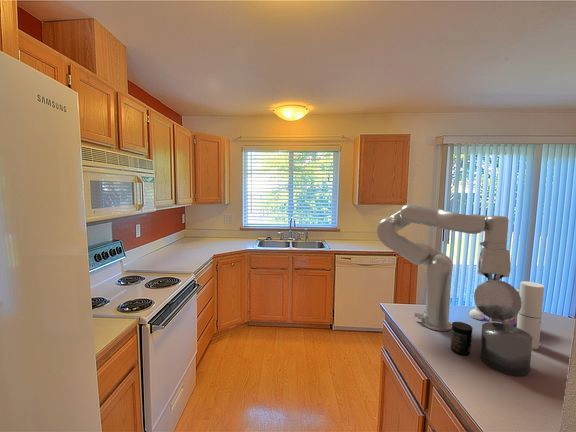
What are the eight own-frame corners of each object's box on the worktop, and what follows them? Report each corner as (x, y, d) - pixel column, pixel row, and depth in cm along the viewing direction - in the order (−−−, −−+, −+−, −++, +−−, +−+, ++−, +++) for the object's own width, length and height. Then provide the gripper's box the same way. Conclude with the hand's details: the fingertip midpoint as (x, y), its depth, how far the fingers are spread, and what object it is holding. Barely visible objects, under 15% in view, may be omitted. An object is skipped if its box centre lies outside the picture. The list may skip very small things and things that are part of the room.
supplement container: (468, 359, 101) (470, 332, 100) (448, 351, 105) (449, 325, 105) (472, 351, 106) (474, 325, 105) (452, 344, 110) (454, 320, 109)
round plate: (475, 318, 107) (472, 317, 110) (522, 325, 101) (518, 323, 105) (474, 277, 109) (472, 277, 112) (521, 282, 104) (517, 281, 107)
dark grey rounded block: (487, 371, 94) (489, 337, 93) (475, 349, 107) (477, 319, 106) (538, 381, 89) (541, 345, 88) (518, 356, 102) (521, 326, 101)
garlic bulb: (487, 321, 132) (490, 305, 131) (474, 320, 132) (477, 304, 131) (478, 315, 138) (481, 300, 137) (466, 314, 138) (468, 299, 137)
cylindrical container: (510, 339, 114) (515, 281, 112) (526, 339, 115) (531, 281, 113) (527, 349, 107) (532, 287, 105) (543, 348, 108) (549, 287, 106)
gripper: (476, 246, 112) (473, 290, 113) (521, 248, 107) (518, 294, 108) (471, 243, 119) (468, 284, 120) (513, 245, 114) (510, 288, 115)
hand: (492, 289), depth 114 cm, fingers closed
